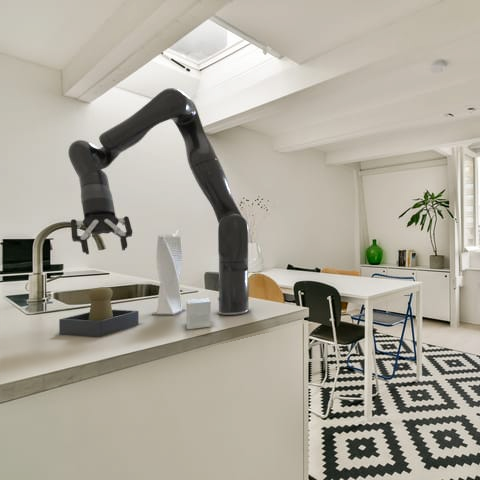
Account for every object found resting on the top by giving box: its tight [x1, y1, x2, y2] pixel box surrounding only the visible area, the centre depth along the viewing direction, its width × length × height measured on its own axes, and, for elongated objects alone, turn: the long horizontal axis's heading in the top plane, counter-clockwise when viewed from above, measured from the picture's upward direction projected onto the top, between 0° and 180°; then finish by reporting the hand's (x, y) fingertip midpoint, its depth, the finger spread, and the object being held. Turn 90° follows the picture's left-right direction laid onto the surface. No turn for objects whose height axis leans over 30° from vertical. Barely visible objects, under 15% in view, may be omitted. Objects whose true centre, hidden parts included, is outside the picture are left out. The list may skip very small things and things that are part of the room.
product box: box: [185, 297, 212, 330], centre depth 96 cm, size 6×6×7 cm
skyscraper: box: [151, 228, 186, 316], centre depth 110 cm, size 8×8×28 cm
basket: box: [58, 309, 140, 338], centre depth 92 cm, size 12×12×4 cm
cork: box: [88, 286, 114, 321], centre depth 92 cm, size 6×6×11 cm
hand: (106, 251), depth 98 cm, fingers open, 8 cm apart
